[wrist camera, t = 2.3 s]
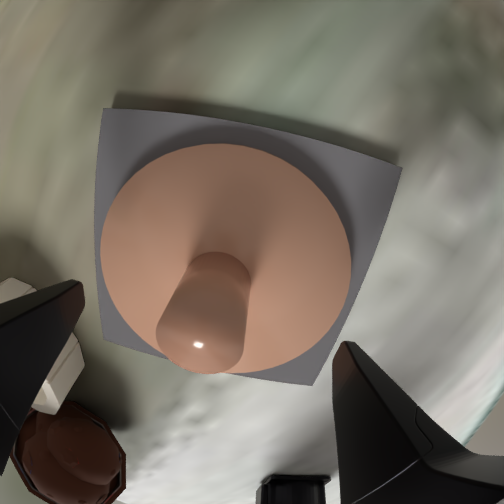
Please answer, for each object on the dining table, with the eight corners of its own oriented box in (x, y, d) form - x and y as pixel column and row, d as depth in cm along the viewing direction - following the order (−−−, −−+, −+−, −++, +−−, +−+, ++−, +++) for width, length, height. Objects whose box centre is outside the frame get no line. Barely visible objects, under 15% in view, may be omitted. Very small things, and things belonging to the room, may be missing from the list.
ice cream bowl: (41, 400, 23) (38, 352, 15) (121, 450, 25) (163, 432, 18) (6, 465, 13) (-26, 457, 6) (95, 519, 16) (125, 546, 9)
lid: (378, 179, 10) (438, 211, 6) (304, 375, 14) (311, 444, 10) (115, 129, 10) (41, 136, 6) (115, 334, 14) (79, 392, 10)
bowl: (70, 301, 14) (33, 343, 10) (93, 392, 18) (73, 429, 14) (-14, 265, 14) (-48, 291, 10) (14, 352, 17) (-8, 380, 14)
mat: (396, 166, 10) (402, 168, 10) (311, 378, 15) (312, 385, 14) (110, 108, 10) (103, 108, 9) (108, 333, 15) (103, 339, 14)
